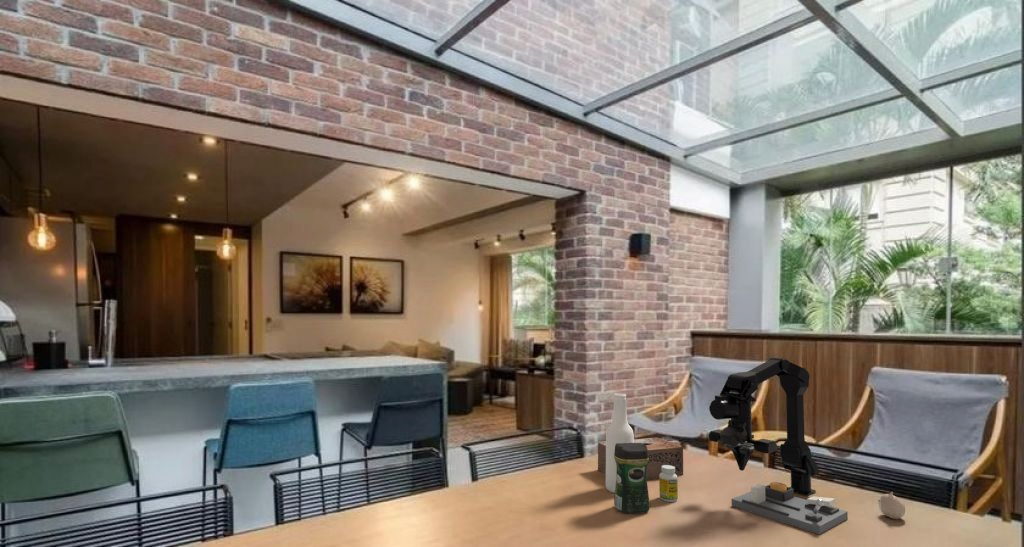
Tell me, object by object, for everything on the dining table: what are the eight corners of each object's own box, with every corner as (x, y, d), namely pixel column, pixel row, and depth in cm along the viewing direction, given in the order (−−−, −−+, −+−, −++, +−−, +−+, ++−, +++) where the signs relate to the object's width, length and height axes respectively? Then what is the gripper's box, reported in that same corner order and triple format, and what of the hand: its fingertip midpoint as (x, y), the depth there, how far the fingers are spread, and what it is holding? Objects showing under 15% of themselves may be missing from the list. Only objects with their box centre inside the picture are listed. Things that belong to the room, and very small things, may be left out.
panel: (762, 493, 162) (762, 479, 163) (847, 518, 143) (847, 502, 144) (731, 505, 151) (731, 490, 152) (819, 534, 132) (819, 516, 133)
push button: (774, 491, 158) (774, 481, 158) (789, 495, 154) (789, 485, 154) (767, 494, 155) (767, 483, 155) (782, 498, 151) (782, 487, 152)
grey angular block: (760, 499, 151) (759, 483, 152) (765, 500, 150) (765, 485, 150) (751, 502, 148) (751, 487, 149) (756, 504, 147) (756, 488, 147)
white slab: (813, 500, 148) (812, 496, 149) (836, 503, 144) (835, 498, 144) (807, 503, 146) (806, 499, 146) (830, 506, 141) (829, 501, 142)
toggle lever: (812, 509, 138) (819, 496, 137) (819, 514, 137) (826, 501, 136) (809, 511, 137) (816, 498, 136) (816, 516, 136) (823, 502, 135)
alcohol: (635, 487, 166) (635, 393, 168) (632, 496, 158) (632, 397, 160) (607, 483, 169) (608, 391, 171) (603, 492, 161) (604, 395, 163)
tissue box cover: (657, 464, 193) (657, 437, 194) (683, 476, 180) (683, 446, 181) (597, 471, 184) (597, 442, 185) (620, 483, 170) (620, 452, 171)
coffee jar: (641, 503, 152) (641, 439, 153) (653, 514, 144) (653, 446, 145) (610, 505, 150) (610, 440, 152) (620, 515, 142) (620, 447, 144)
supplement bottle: (667, 495, 160) (667, 463, 160) (681, 500, 155) (681, 467, 156) (655, 498, 157) (655, 465, 157) (669, 503, 152) (669, 470, 153)
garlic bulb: (873, 514, 147) (872, 486, 147) (887, 511, 149) (886, 483, 150) (898, 523, 141) (897, 493, 141) (912, 520, 143) (911, 490, 144)
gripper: (698, 414, 158) (698, 466, 156) (757, 425, 143) (759, 483, 141) (718, 411, 164) (718, 461, 163) (777, 421, 149) (778, 476, 148)
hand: (741, 470), depth 154 cm, fingers closed
